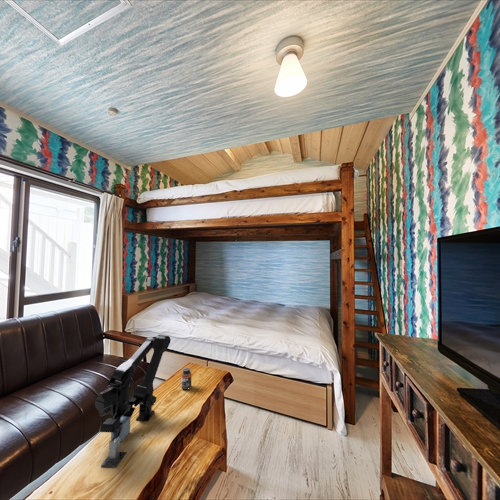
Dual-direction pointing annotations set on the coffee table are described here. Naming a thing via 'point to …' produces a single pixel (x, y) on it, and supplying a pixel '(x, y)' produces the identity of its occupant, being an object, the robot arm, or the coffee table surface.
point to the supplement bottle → (186, 378)
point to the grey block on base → (123, 428)
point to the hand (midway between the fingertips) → (120, 433)
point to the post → (114, 454)
